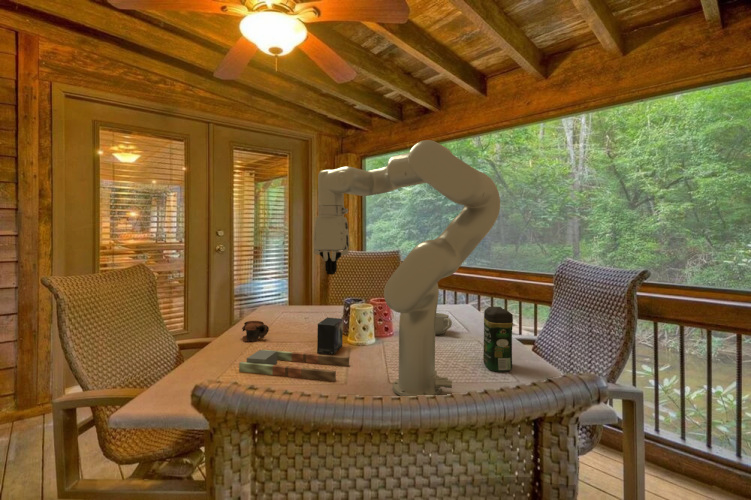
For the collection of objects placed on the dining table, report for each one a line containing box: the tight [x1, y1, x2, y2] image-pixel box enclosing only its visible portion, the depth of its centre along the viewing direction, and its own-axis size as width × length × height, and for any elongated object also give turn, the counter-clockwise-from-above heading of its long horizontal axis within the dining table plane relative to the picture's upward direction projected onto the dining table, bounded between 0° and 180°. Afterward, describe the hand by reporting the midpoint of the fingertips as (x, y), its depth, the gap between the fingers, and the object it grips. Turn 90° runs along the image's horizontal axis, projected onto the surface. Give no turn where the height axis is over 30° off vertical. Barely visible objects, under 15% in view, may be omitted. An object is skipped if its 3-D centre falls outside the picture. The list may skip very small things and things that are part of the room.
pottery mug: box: [241, 320, 270, 343], centre depth 146 cm, size 12×10×8 cm
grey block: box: [246, 349, 278, 365], centre depth 116 cm, size 6×8×4 cm
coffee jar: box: [482, 306, 514, 373], centre depth 116 cm, size 10×8×19 cm
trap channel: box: [238, 349, 350, 382], centre depth 115 cm, size 30×13×2 cm, turn 76°
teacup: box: [435, 312, 453, 336], centre depth 155 cm, size 14×11×8 cm
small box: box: [316, 317, 344, 356], centre depth 133 cm, size 11×6×10 cm, turn 168°
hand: (331, 274), depth 113 cm, fingers closed
